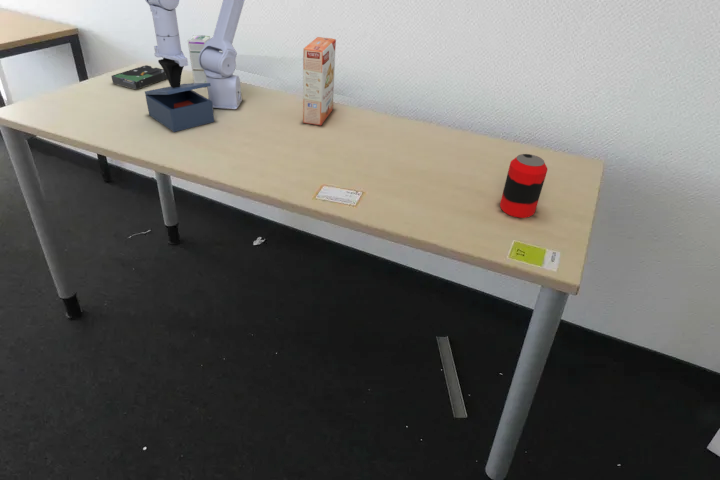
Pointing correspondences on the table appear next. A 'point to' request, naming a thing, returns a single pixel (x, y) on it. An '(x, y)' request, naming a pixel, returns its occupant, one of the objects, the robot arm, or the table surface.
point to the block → (182, 104)
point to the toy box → (180, 110)
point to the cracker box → (318, 80)
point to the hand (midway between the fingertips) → (175, 86)
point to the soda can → (523, 185)
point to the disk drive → (139, 77)
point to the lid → (177, 89)
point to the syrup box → (195, 48)
